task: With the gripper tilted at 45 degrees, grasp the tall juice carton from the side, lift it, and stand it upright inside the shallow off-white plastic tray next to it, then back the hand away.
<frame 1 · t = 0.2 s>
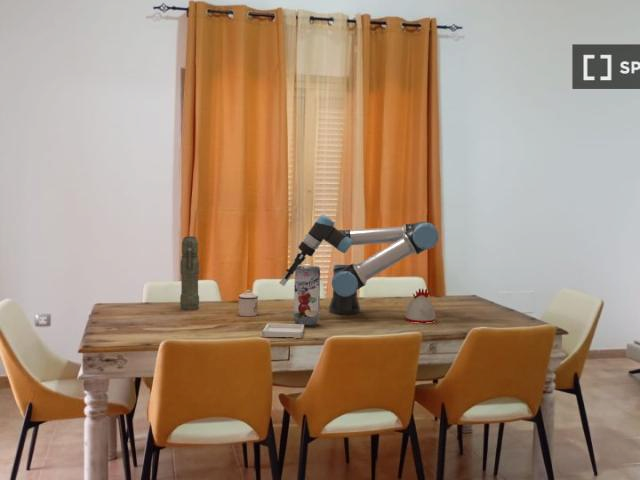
hand: (283, 282, 286), 16 cm above the table, tool tilted 35°, fingers open, 13 cm apart
juice carton: (306, 325, 269), on the table
carton tray: (283, 333, 252), on the table
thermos: (189, 309, 299), on the table
teacup with lid: (248, 314, 289), on the table
grey dome with crest: (420, 321, 283), on the table
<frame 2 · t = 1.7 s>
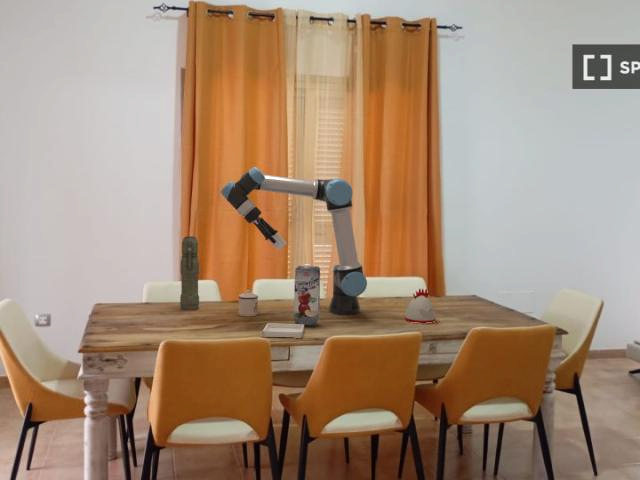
hand: (282, 246, 272), 33 cm above the table, tool tilted 45°, fingers open, 13 cm apart
nothing on the table moved.
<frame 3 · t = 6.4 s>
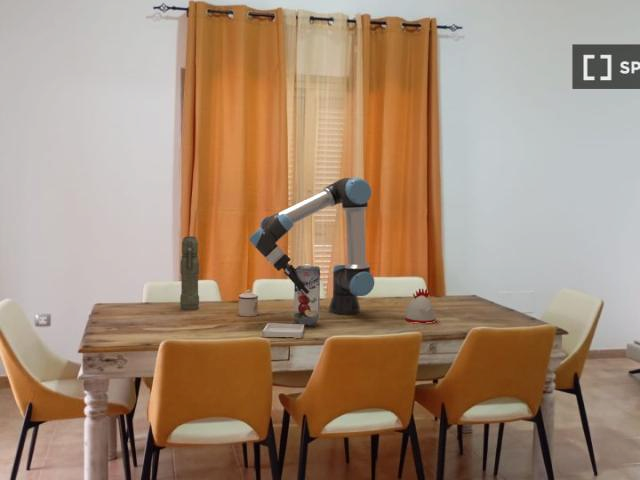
hand: (314, 296, 267), 13 cm above the table, tool tilted 45°, fingers closed on juice carton, 9 cm apart
juice carton: (306, 325, 269), on the table, touching gripper
everything else where it was.
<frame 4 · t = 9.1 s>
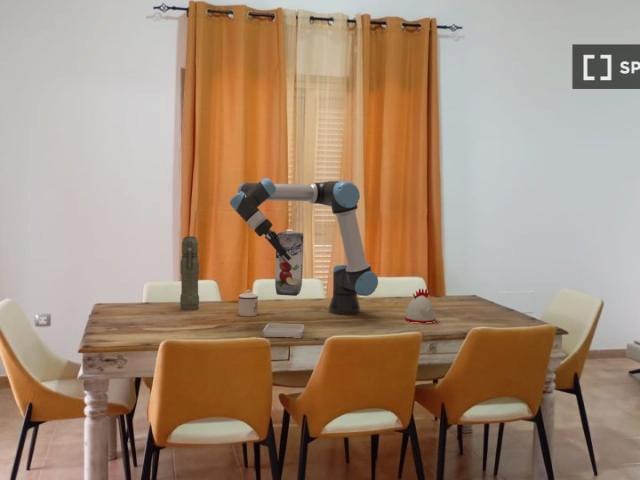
hand: (297, 263, 255), 28 cm above the table, tool tilted 45°, fingers closed on juice carton, 9 cm apart
juice carton: (288, 294, 256), point 15 cm above the table, touching gripper
everything else where it was.
when the fingers open (15 cm above the table, at t = 12.2 s): juice carton drops 2 cm, resting on carton tray.
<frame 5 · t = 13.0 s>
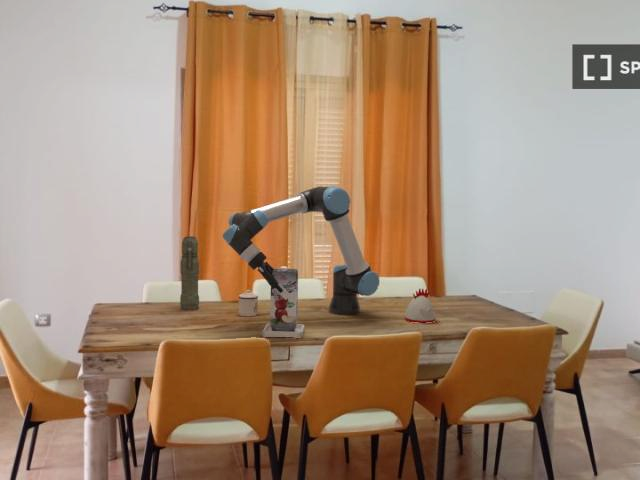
hand: (290, 294, 251), 16 cm above the table, tool tilted 45°, fingers open, 13 cm apart
juice carton: (283, 331, 253), point 1 cm above the table, touching carton tray
everything else where it was.
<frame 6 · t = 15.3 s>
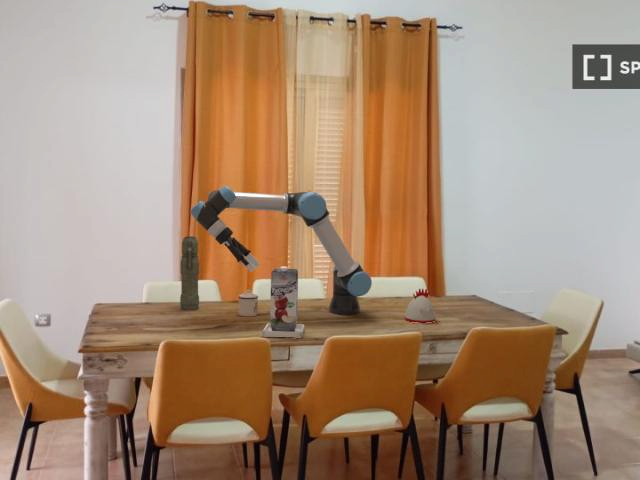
hand: (256, 268, 262), 25 cm above the table, tool tilted 45°, fingers open, 13 cm apart
nothing on the table moved.
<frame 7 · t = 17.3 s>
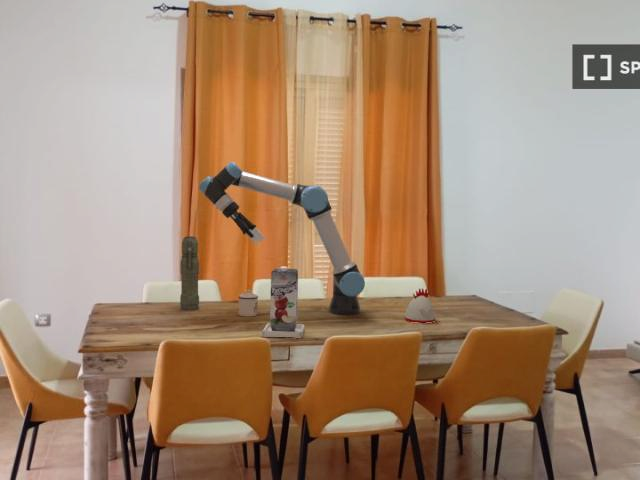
hand: (260, 241, 274), 36 cm above the table, tool tilted 45°, fingers open, 13 cm apart
nothing on the table moved.
at the end: juice carton inside the target area on the carton tray (0.5 cm from its centre), point 0.6 cm above the carton tray's base; juice carton tilted 0°; the gripper is holding nothing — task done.
